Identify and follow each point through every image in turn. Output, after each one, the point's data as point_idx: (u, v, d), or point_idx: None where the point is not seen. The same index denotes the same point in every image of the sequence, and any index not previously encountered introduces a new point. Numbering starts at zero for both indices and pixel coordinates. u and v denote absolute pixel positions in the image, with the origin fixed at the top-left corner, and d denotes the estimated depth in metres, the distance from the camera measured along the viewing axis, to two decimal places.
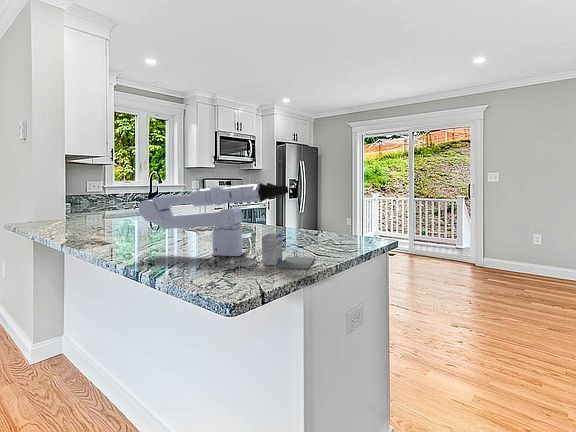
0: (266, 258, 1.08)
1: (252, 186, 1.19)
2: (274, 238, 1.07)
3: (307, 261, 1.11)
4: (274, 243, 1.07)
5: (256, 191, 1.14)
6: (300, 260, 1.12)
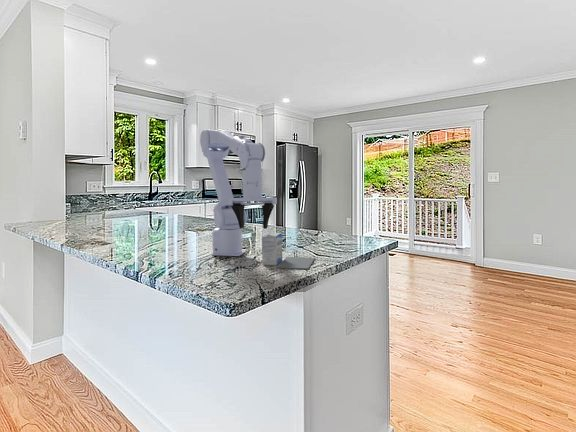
0: (266, 258, 1.08)
1: (244, 194, 1.09)
2: (274, 238, 1.07)
3: (307, 261, 1.11)
4: (274, 243, 1.07)
5: None
6: (300, 260, 1.12)
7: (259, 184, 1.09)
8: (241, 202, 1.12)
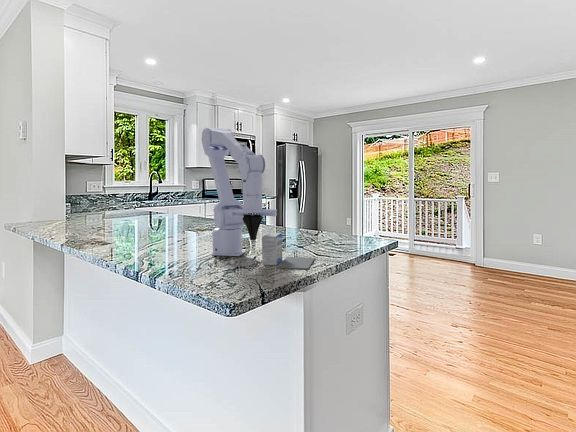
0: (266, 258, 1.08)
1: (244, 206, 1.10)
2: (274, 238, 1.07)
3: (307, 261, 1.11)
4: (274, 243, 1.07)
5: None
6: (300, 260, 1.12)
7: (259, 195, 1.10)
8: (241, 213, 1.12)
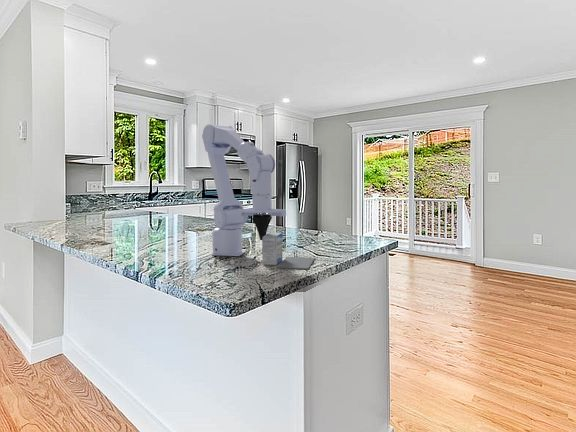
0: (266, 258, 1.08)
1: (253, 206, 1.09)
2: (275, 238, 1.07)
3: (307, 261, 1.11)
4: (275, 243, 1.07)
5: None
6: (300, 260, 1.12)
7: (269, 195, 1.09)
8: (250, 213, 1.12)
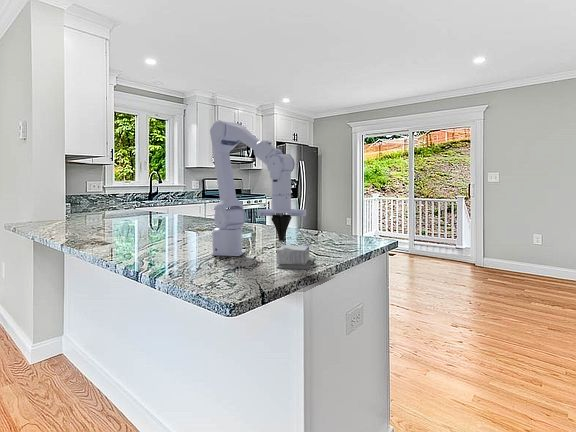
0: (283, 254, 1.07)
1: (273, 206, 1.08)
2: (303, 263, 1.06)
3: None
4: (298, 263, 1.06)
5: None
6: None
7: (289, 195, 1.08)
8: (269, 214, 1.10)
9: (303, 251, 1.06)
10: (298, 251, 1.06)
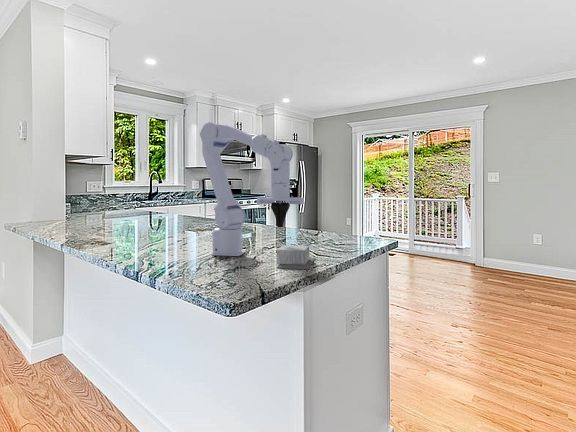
0: (283, 254, 1.07)
1: (272, 194, 1.12)
2: (303, 263, 1.06)
3: None
4: (298, 263, 1.06)
5: None
6: None
7: (287, 184, 1.12)
8: (269, 201, 1.15)
9: (303, 251, 1.06)
10: (298, 251, 1.06)
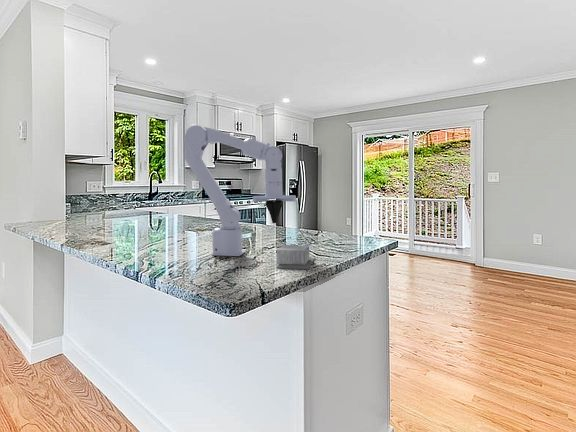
0: (283, 254, 1.07)
1: (267, 192, 1.23)
2: (303, 263, 1.06)
3: None
4: (298, 263, 1.06)
5: None
6: None
7: (280, 183, 1.22)
8: (263, 199, 1.25)
9: (303, 251, 1.06)
10: (298, 251, 1.06)
